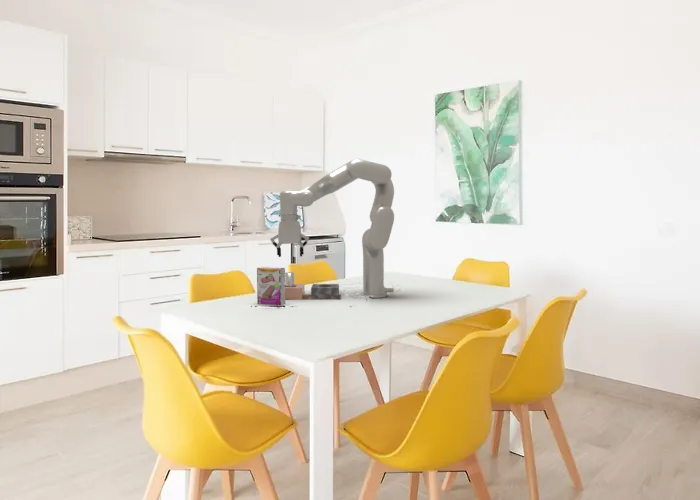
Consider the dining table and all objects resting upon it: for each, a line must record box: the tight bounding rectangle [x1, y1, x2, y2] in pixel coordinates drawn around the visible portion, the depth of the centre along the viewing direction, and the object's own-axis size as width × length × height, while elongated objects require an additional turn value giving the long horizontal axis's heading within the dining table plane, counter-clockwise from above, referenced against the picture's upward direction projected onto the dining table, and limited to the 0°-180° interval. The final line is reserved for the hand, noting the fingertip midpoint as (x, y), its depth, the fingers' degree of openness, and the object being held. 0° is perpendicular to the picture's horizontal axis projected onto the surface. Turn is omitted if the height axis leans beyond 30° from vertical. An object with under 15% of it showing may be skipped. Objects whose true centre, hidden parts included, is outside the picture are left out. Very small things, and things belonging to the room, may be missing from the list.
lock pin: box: [285, 271, 295, 287], centre depth 249 cm, size 4×4×11 cm
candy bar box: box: [256, 266, 286, 308], centre depth 233 cm, size 11×5×16 cm, turn 71°
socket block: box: [285, 283, 305, 299], centre depth 250 cm, size 12×12×5 cm
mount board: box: [285, 283, 342, 301], centre depth 250 cm, size 30×14×6 cm, turn 90°
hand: (290, 256), depth 248 cm, fingers open, 9 cm apart
